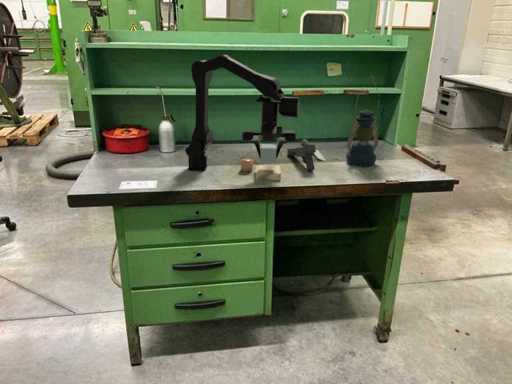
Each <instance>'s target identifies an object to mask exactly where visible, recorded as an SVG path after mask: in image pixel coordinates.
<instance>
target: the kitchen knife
mask: <svg viewBox="0 0 512 384" xmlns="http://www.w3.org/2000/svg"><path fill="white" fill-rule="evenodd" d="M301 144H302V146H303V147H304V146H305V145H311V143H310V142H309V140H308V139H306V138H303V139H302V140H301ZM313 155H314V156H315V157H316V158H317V159H318V160H320V161H324V162H326V161H327V160H326V158H325V157H324V155H323V154H322V153H321V152H320V150H318V149H316V152H315V153H314V154H313Z"/></svg>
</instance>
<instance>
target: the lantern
mask: <svg viewBox="0 0 512 384" xmlns="http://www.w3.org/2000/svg"><path fill="white" fill-rule="evenodd" d="M370 78H372V81H373V84H374V86H375V88H376V92H377V95H378V96H380V93H379V90H378V88H377V85H376V82H375V80H374V77H373V75H372V74H370V75H369V77H368V78H367V80H366V81H365V82H364V85H363V87H362V88H361V90H360V91H359V93H358V95H357V98H356V102H355V108H354V109H355V110H354V112H353V113H354V114H353V119H354V121H353V123H352V126H351V129H350V133H349V136H348V139H347V142H346V143H347V144H346V149H347V150H348V152H347V153H346V155H345V156H346V157H345V158H346V162H347V163H348V164H349V165H351V166H354V167H363V168H365V167H372V166H373V165H374V164H375V163H376V161H377V155H376V154H375V150H376V148H377V147H378V144H379V136H378V135H379V134H378V122H377V117H378V115H379V112H377V114H376V116H374V112H373V111H371V110H370V109H363V110H360V111H358V115H356V110H357V104H358V99H359V96H360V94H361V93H362V91H363V89H364V87H365V85H366V84H367V82H368V81H369V79H370ZM379 106H380V100H378V104H377V109H380V108H379ZM357 125H358V126H357ZM354 136H355V138H356V139H357V142H356V141H355V142H353V139H354ZM372 138H373V144H371V143H370V142H369V141H370V140H371V139H372ZM352 142H353V143H352Z"/></svg>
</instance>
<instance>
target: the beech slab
mask: <svg viewBox="0 0 512 384" xmlns="http://www.w3.org/2000/svg"><path fill="white" fill-rule="evenodd" d="M254 176H255V177H254V178H255V181H256V180H257V181H261V180H262V181H281V178H282V172H281V166H280V165H264V164H263V165H261V164H259V165H255V175H254Z"/></svg>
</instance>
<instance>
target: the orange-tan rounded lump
mask: <svg viewBox="0 0 512 384" xmlns="http://www.w3.org/2000/svg"><path fill="white" fill-rule="evenodd" d="M253 167H254V159H251V158H242V159H241V160H240V171H241V172H243V173H251V172H253V170H254V168H253Z"/></svg>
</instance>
